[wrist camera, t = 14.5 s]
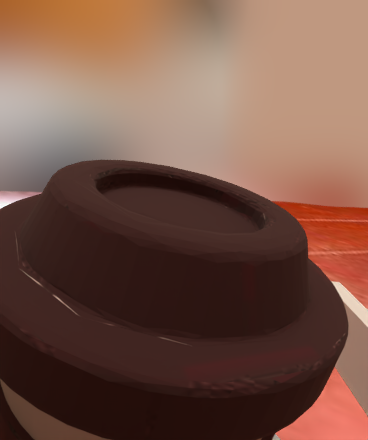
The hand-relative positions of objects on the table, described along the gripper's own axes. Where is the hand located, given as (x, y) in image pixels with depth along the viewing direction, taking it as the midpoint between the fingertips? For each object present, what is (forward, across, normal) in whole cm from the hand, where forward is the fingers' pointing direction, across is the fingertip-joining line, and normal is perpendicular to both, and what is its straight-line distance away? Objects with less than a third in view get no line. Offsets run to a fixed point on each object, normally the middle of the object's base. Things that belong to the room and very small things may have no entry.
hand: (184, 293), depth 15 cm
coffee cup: (-4, -2, -9) cm, 10 cm away
